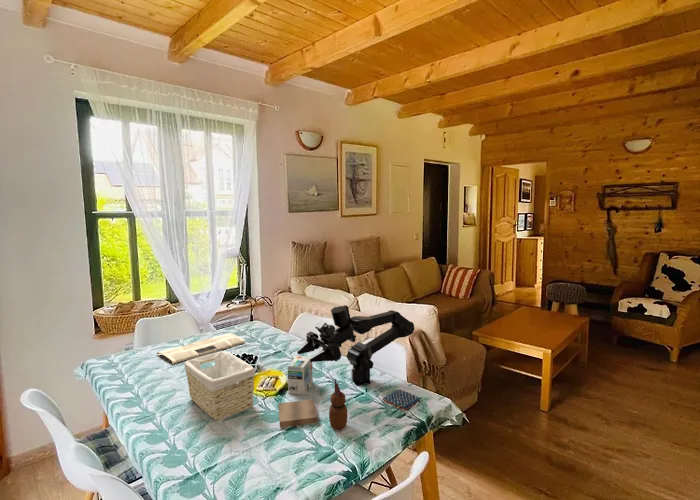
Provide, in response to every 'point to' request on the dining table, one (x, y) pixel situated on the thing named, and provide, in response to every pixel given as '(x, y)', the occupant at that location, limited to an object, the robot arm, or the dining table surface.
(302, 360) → the light bulb box
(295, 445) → the dining table surface
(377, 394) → the dining table surface
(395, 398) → the woven mat
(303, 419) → the light brown wooden stand
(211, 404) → the storage basket
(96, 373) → the dining table surface
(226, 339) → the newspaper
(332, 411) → the wooden figurine
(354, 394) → the dining table surface
